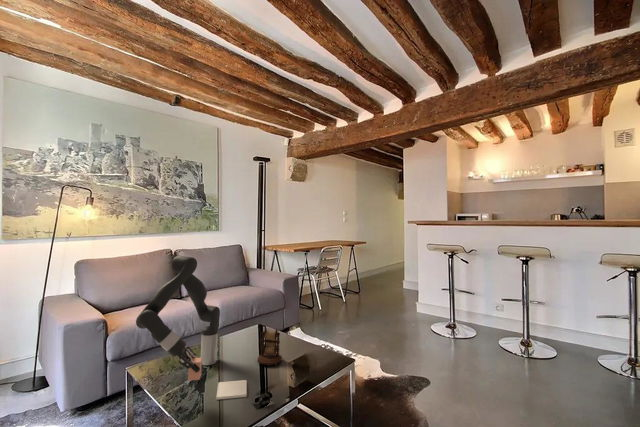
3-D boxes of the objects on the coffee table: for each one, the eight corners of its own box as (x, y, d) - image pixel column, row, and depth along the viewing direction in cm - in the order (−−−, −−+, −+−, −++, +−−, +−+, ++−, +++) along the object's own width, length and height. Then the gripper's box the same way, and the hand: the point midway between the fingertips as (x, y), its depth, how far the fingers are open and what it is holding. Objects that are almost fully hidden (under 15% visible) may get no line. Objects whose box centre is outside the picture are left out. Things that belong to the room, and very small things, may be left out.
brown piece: (284, 357, 196) (285, 325, 197) (278, 368, 181) (279, 333, 182) (261, 356, 198) (262, 324, 198) (254, 366, 183) (255, 332, 184)
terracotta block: (189, 375, 147) (190, 358, 147) (201, 374, 148) (201, 357, 148) (187, 380, 142) (188, 362, 142) (199, 379, 143) (200, 362, 143)
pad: (218, 384, 162) (218, 382, 162) (246, 382, 165) (246, 379, 165) (216, 399, 148) (216, 397, 148) (246, 396, 151) (246, 394, 151)
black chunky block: (254, 413, 139) (254, 402, 140) (248, 404, 146) (249, 394, 146) (279, 405, 146) (279, 395, 146) (273, 397, 152) (273, 388, 152)
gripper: (175, 343, 137) (203, 369, 139) (182, 332, 151) (207, 355, 153) (162, 356, 135) (190, 382, 138) (169, 343, 149) (195, 367, 152)
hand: (199, 367), depth 146 cm, fingers closed on terracotta block, 5 cm apart
